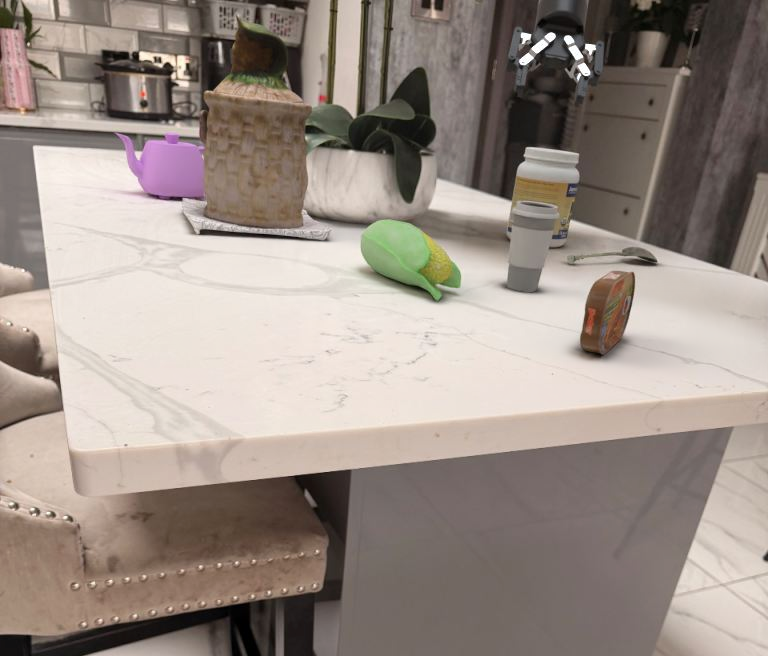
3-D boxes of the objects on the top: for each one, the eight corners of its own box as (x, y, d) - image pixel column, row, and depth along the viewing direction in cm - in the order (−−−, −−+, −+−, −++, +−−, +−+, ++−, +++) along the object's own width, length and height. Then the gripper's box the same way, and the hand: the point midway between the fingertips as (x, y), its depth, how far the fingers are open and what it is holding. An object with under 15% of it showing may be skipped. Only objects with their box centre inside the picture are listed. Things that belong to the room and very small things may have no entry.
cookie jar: (334, 241, 133) (348, 25, 117) (188, 234, 125) (183, 2, 110) (306, 216, 153) (315, 29, 137) (179, 208, 146) (174, 10, 130)
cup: (512, 293, 112) (528, 207, 106) (490, 282, 117) (504, 199, 111) (553, 293, 115) (570, 209, 109) (530, 282, 120) (545, 201, 114)
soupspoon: (663, 269, 146) (637, 263, 151) (668, 251, 144) (641, 245, 149) (581, 267, 134) (555, 260, 139) (585, 247, 133) (559, 241, 138)
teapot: (204, 192, 167) (204, 132, 161) (226, 202, 158) (226, 140, 152) (110, 189, 158) (106, 125, 152) (127, 200, 148) (123, 133, 142)
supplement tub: (566, 251, 148) (587, 156, 140) (504, 243, 149) (521, 147, 141) (563, 241, 159) (582, 151, 150) (505, 233, 160) (521, 144, 151)
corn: (401, 233, 119) (485, 265, 105) (372, 277, 120) (452, 315, 106) (368, 200, 113) (454, 230, 99) (338, 247, 114) (419, 283, 100)
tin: (596, 362, 87) (614, 287, 82) (569, 355, 88) (586, 281, 84) (626, 334, 98) (644, 268, 94) (603, 329, 100) (619, 263, 95)
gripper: (521, -21, 113) (506, 70, 110) (616, -5, 113) (604, 87, 110) (512, 21, 121) (497, 108, 117) (600, 36, 121) (589, 124, 117)
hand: (549, 98), depth 113 cm, fingers open, 8 cm apart
